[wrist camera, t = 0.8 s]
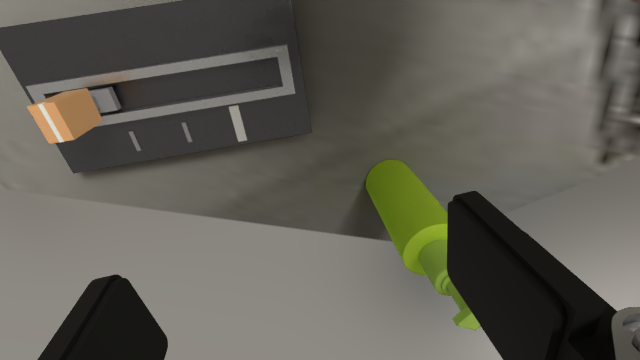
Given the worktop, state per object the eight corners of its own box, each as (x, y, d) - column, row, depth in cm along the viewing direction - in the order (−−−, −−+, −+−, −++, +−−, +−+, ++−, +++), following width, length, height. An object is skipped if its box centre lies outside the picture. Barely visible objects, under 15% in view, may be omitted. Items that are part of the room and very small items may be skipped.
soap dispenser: (425, 163, 39) (549, 289, 21) (394, 206, 41) (482, 351, 24) (386, 144, 37) (487, 266, 19) (356, 191, 39) (422, 336, 22)
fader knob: (67, 87, 27) (12, 108, 21) (109, 81, 27) (66, 99, 22) (83, 119, 28) (36, 146, 23) (123, 112, 29) (86, 138, 23)
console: (11, 27, 27) (-23, 30, 24) (287, -14, 28) (289, -17, 25) (86, 162, 33) (67, 178, 30) (309, 124, 34) (312, 135, 31)
